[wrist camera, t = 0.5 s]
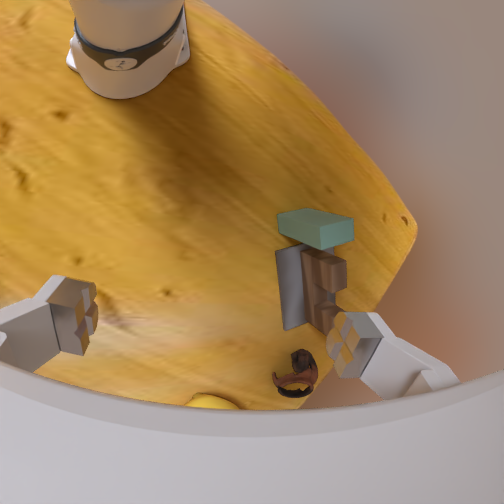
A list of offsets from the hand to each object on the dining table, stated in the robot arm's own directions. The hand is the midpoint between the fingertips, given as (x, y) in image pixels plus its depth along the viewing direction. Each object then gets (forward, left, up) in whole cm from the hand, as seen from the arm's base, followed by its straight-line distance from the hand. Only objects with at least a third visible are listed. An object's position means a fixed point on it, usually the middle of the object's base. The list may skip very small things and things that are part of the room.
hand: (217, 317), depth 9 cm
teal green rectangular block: (+3, +23, -34) cm, 42 cm away
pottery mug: (+33, +26, -35) cm, 54 cm away
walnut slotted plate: (+15, +27, -34) cm, 46 cm away
